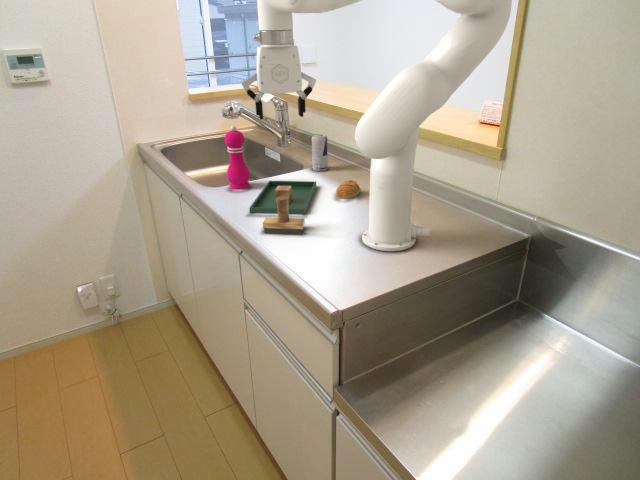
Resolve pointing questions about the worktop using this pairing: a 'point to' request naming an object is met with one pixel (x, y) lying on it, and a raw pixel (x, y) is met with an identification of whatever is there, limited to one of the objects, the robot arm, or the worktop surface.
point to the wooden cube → (284, 192)
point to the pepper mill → (236, 160)
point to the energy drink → (319, 152)
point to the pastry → (348, 189)
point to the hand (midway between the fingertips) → (281, 117)
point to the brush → (283, 220)
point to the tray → (298, 204)
